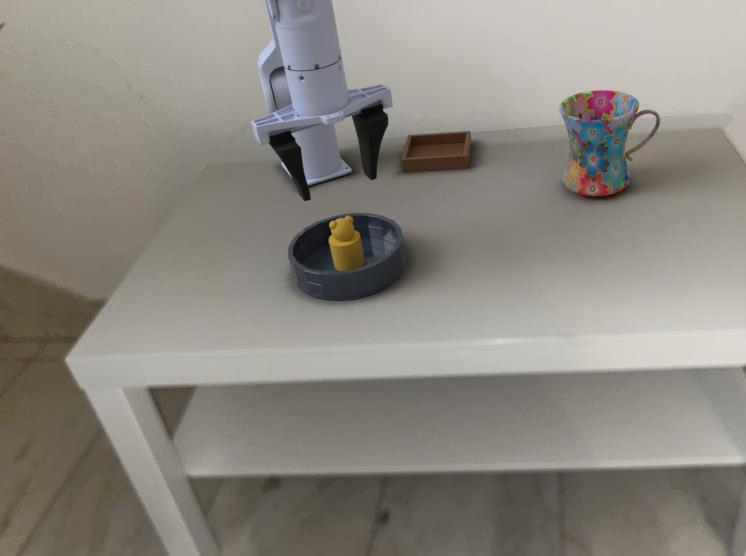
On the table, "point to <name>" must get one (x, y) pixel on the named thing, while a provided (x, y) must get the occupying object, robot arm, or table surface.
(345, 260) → the toy
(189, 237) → the table surface
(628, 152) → the mug
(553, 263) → the table surface
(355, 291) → the bowl
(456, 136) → the tray
